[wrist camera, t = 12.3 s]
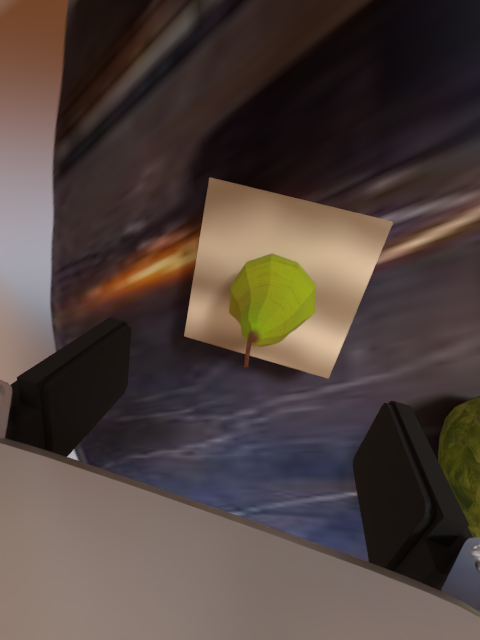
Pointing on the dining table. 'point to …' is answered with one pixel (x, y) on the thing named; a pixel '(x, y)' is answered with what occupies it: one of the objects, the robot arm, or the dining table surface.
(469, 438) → the lettuce
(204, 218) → the plinth
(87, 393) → the robot arm
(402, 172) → the dining table surface
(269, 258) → the fruit
